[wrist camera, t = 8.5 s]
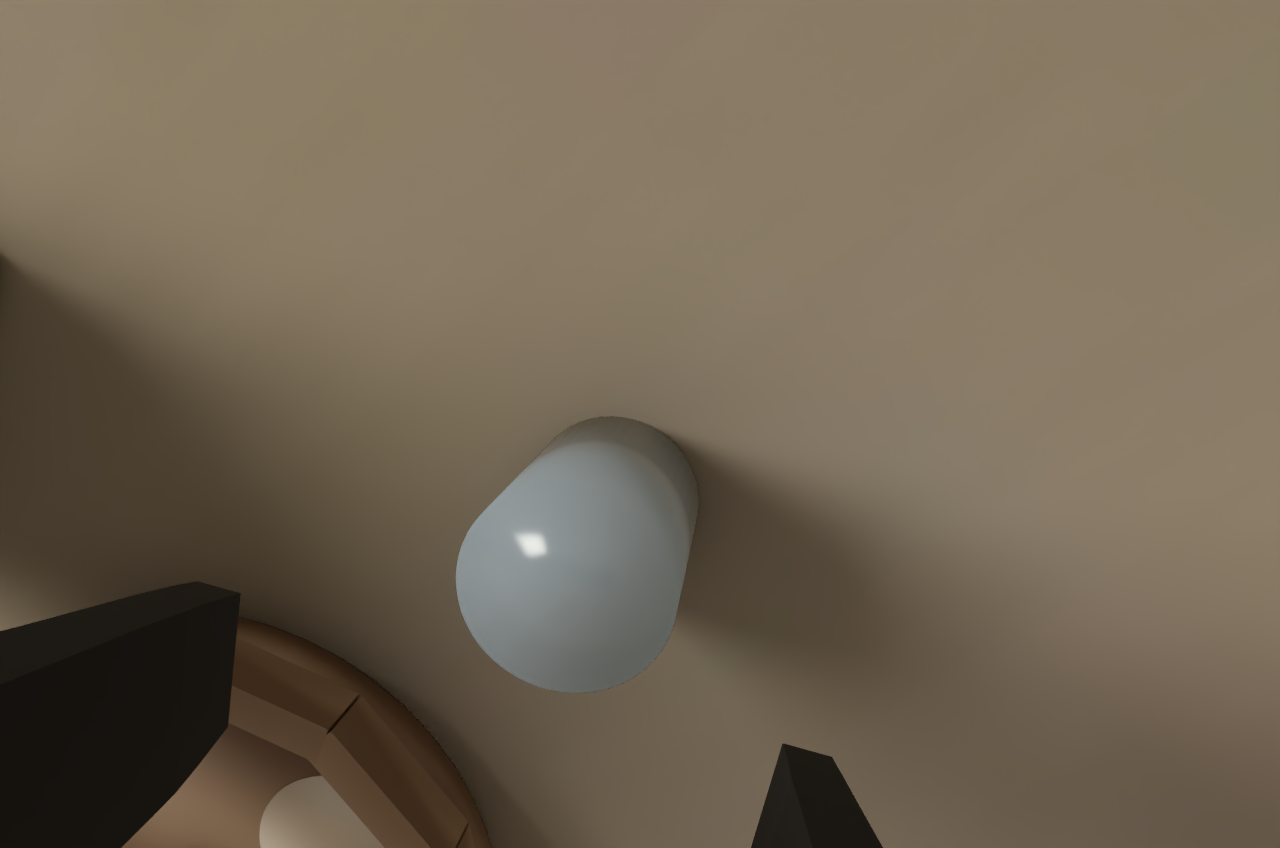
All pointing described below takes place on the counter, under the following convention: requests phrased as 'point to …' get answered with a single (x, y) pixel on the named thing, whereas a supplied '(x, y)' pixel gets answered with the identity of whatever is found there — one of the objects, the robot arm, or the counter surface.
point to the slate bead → (582, 558)
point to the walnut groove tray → (315, 764)
